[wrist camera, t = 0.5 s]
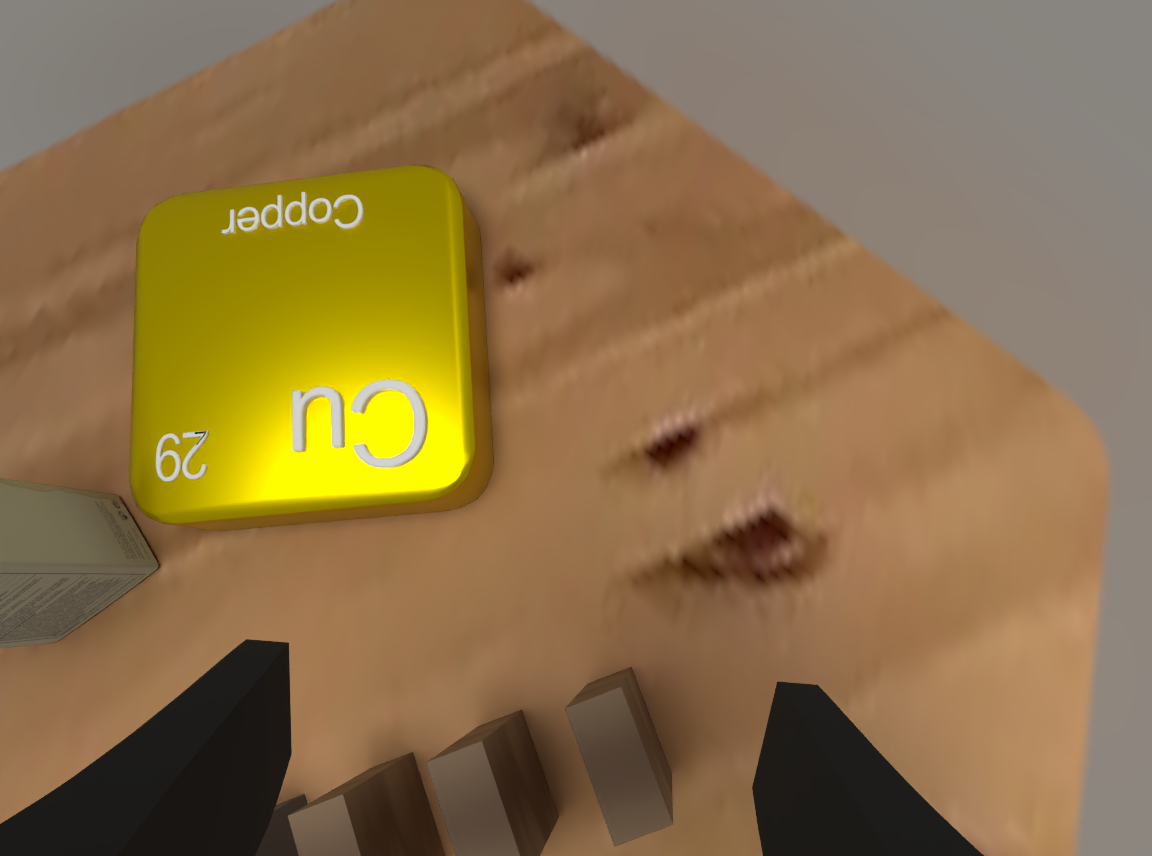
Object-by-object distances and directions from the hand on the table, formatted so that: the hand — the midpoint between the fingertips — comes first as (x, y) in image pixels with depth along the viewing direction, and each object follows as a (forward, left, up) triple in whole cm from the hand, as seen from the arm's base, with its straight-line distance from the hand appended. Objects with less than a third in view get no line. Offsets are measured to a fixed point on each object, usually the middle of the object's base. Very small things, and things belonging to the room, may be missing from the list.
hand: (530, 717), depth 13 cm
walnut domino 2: (-3, +6, -24) cm, 25 cm away
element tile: (+17, +8, -25) cm, 31 cm away
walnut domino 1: (-3, +11, -24) cm, 27 cm away
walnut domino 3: (-3, +1, -24) cm, 24 cm away
